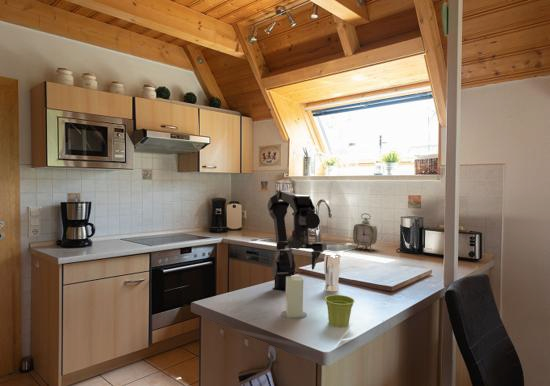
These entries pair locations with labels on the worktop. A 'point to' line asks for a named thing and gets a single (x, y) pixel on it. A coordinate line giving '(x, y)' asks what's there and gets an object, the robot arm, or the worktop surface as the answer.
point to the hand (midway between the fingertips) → (301, 268)
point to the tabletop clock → (365, 233)
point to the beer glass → (332, 272)
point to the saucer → (292, 317)
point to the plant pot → (339, 309)
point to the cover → (294, 296)
